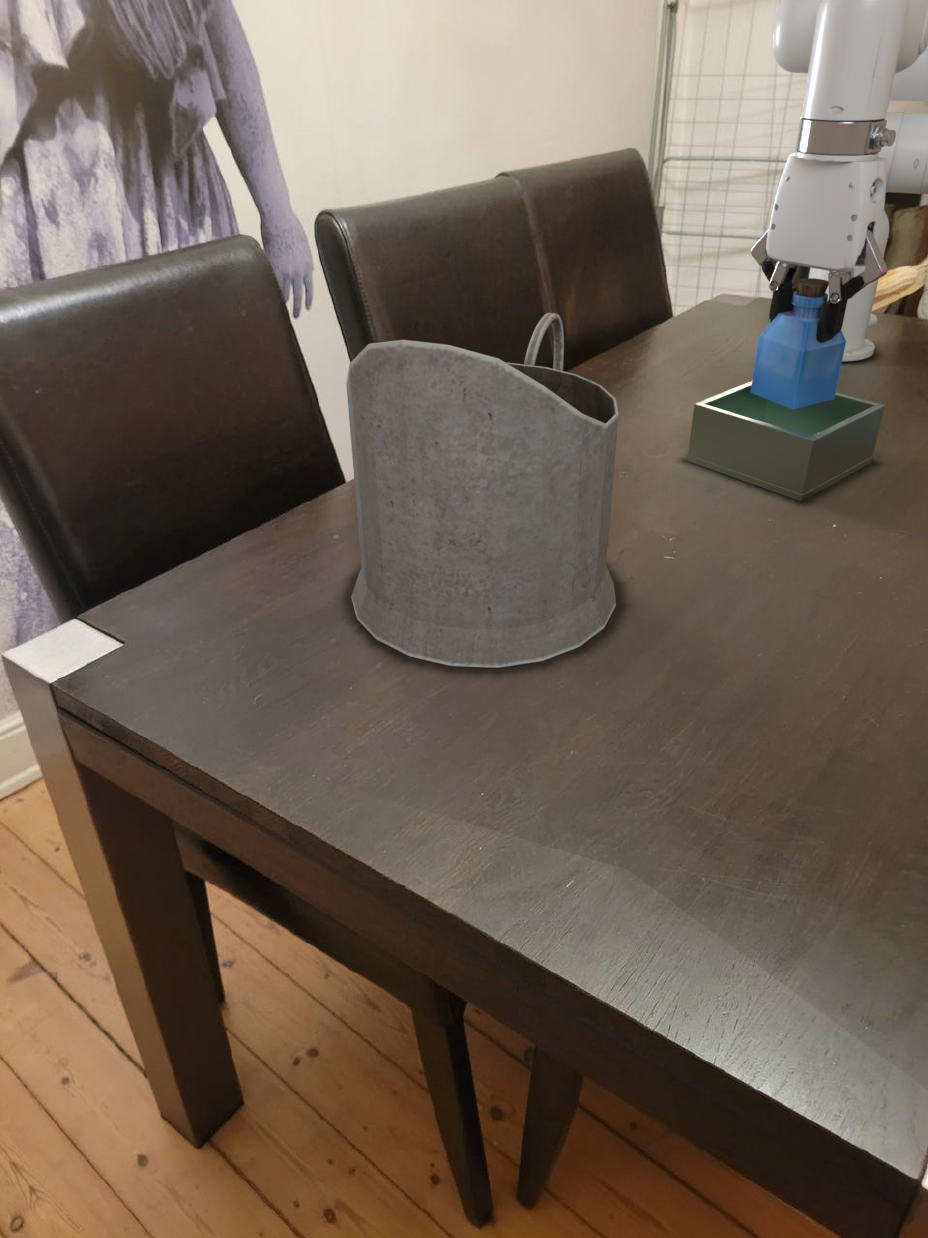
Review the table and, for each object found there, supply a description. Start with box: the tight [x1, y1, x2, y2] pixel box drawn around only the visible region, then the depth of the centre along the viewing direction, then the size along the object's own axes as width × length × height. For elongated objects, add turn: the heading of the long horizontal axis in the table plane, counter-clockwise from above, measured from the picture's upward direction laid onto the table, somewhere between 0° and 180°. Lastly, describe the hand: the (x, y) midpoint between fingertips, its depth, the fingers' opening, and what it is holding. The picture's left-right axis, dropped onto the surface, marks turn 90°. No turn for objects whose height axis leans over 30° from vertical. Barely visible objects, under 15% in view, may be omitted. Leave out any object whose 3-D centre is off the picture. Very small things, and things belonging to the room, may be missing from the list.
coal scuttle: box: [345, 312, 619, 669], centre depth 79 cm, size 23×32×25 cm
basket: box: [686, 380, 886, 502], centre depth 103 cm, size 15×15×7 cm
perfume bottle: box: [751, 277, 846, 410], centre depth 98 cm, size 6×6×12 cm
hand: (802, 332), depth 97 cm, fingers closed on perfume bottle, 4 cm apart
